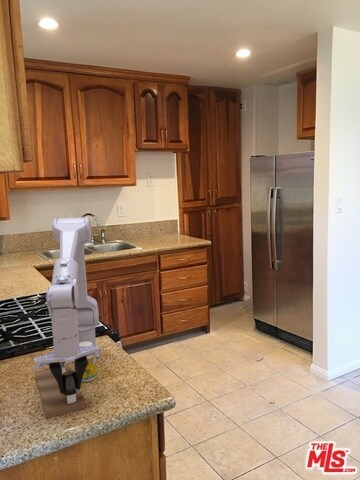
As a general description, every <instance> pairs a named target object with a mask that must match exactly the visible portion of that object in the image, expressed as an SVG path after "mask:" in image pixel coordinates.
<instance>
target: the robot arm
mask: <svg viewBox="0 0 360 480" xmlns="http://www.w3.org/2000/svg"><path fill="white" fill-rule="evenodd" d="M51 225H52V226H51V227H52V228H51V229H52V236H53V239H54V240H55V242H56V243H59V258H58V259H57V260H56V261H55V262H54V265H53V271H52V278H51V285H50V286H48V287H47V289H46V297H45V299H46V305H47V310H48V316H49V319H51V329H52V343H53V351H51V352H49V353H46V354H44V355H40V356H37V357H33V362H34V363H33V364H34V369H35V370H38V369H39V370H40V369H41V367H46V366H48V367H49V368H50V371H51V373H52V374H53V376H54V377H55V379H56V381H57V383H58V385H59V390H60V393H61V394H63V393H64V388H63V382H62V368H61V364H60V363H61V362H65V364H68V363H69V364H70V363H74V371H75V372H76V382H77V389H78V390H79V389H80V390H81V386H82V377H83V374H84V371H85V369H86V367H87V365H88V360H87V357H88V356H93V355H95V356H96V359H97V358H100V357H101V355H100V347H99V346H98V345H97V343H96V327H97V326H98V325H99V323H100V322H99V321H100V319H99V318H100V314H99V313H100V312H99V306H98V302H97V299H96V298H94V297H92V296H90V295H88V285H87V284H88V283H87V282H88V281H87V272H86V256H85V247H86V244H89V243H92V224H91V219H90V217H88V216H85V217H69V218H68V217H66V218H65V217H64V218H57V217H56V218H54V219H53V220H52V224H51ZM86 341H88V342H92V346H82V347H79V343H81V342H86ZM49 368H48V369H49Z"/></svg>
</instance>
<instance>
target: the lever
mask: <svg viewBox="0 0 360 480" xmlns="http://www.w3.org/2000/svg"><path fill="white" fill-rule="evenodd" d="M60 364H61V368H62V382H63V388H64V393H63V394H64V396H65V398H66V401H67V404H70V403H74V402H76V392H77V382H76V372H75V370H71V371H67V372H66V370H65V367H64V365H66V362H61V363H60Z"/></svg>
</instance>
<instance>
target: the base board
mask: <svg viewBox="0 0 360 480" xmlns="http://www.w3.org/2000/svg"><path fill="white" fill-rule="evenodd" d="M69 364H70V363H69ZM69 364H68V363H66V364H63V365H64V367H65V370H66V372H67V371H72V369H71V367H70V365H69ZM34 372H35V373H34V374H35V381H36V384H37V388H38V393H39V395H40V399H41V404H42V408H43V411H44V416H45V419H49V418H52V417H57V416H60V415H64V414H67V413H71V412H75V411H78V410H83V409H85V408H87V406H86V400H85V398H84V396H83V393H82V392H81V389H79V390H78V389H77V392H76V402H74V403H70V404H67V401H66V398H65V396H64V394H61V393H60V390H59V385H58V383H57V381H56V379H55V377H54V376H53V374H52V373H51V371H50V368H45V369H41V370H40V369H39V370H36V371H34Z"/></svg>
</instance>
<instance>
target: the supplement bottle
mask: <svg viewBox="0 0 360 480" xmlns="http://www.w3.org/2000/svg"><path fill="white" fill-rule="evenodd" d="M82 346H92V342H88V341H86V342H81V343H79V347H82ZM87 360H88V365H87V367H86V369H85V371H84V374H83V377H82V381H81V383H87V382H92V381H93V380H96V378H97V377H98V367H97V358H96V356H95V355H93V356H88V357H87Z"/></svg>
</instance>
